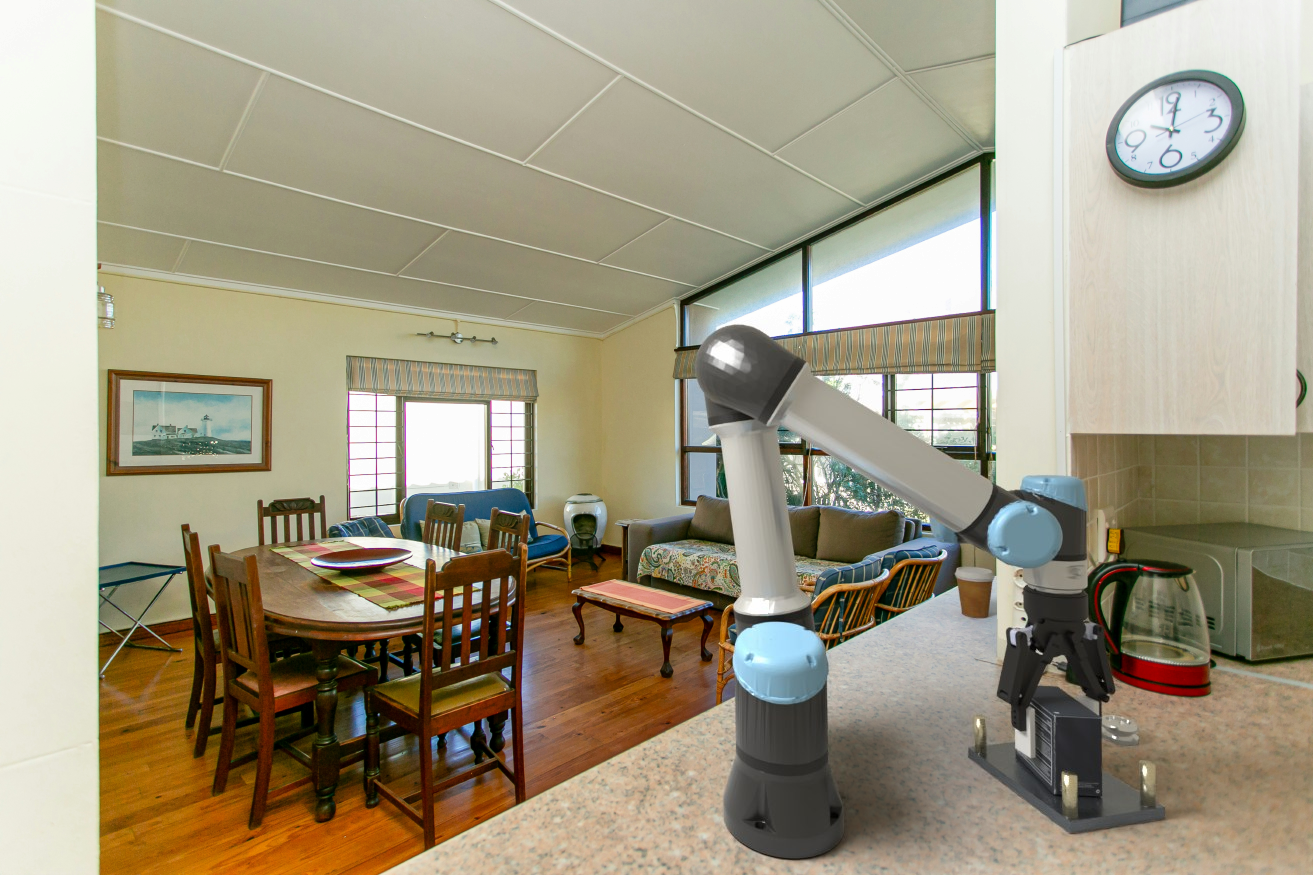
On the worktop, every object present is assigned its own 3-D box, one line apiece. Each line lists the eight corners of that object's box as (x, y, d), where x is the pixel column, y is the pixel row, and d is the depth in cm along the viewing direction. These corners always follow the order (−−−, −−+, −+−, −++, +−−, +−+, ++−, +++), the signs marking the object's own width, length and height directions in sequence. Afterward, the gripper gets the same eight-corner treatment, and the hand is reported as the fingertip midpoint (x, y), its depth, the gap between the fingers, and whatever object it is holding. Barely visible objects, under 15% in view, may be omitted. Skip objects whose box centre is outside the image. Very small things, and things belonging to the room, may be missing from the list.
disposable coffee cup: (1002, 616, 161) (1002, 571, 161) (981, 622, 156) (980, 575, 156) (968, 607, 169) (968, 564, 169) (947, 613, 164) (947, 569, 164)
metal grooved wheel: (1094, 737, 97) (1131, 750, 93) (1093, 718, 97) (1131, 730, 93) (1106, 728, 100) (1143, 740, 95) (1106, 710, 100) (1143, 721, 95)
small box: (1107, 798, 78) (1106, 717, 78) (1054, 796, 79) (1052, 716, 79) (1060, 755, 89) (1059, 683, 89) (1013, 753, 89) (1012, 682, 89)
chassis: (1070, 833, 74) (1069, 780, 74) (968, 757, 91) (967, 714, 91) (1165, 818, 76) (1164, 767, 76) (1048, 746, 94) (1047, 705, 94)
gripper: (1004, 599, 78) (1007, 772, 78) (1148, 588, 82) (1150, 753, 82) (965, 585, 85) (967, 743, 85) (1098, 576, 89) (1100, 727, 89)
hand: (1057, 748), depth 84 cm, fingers open, 9 cm apart
